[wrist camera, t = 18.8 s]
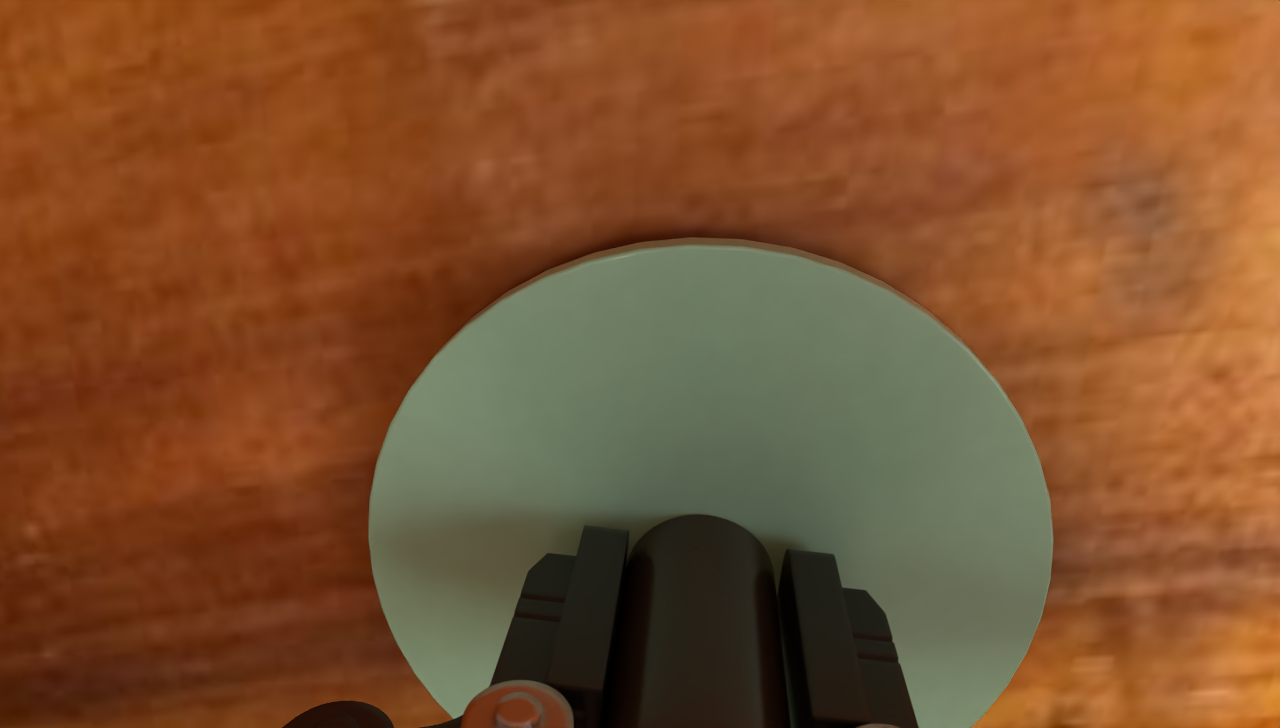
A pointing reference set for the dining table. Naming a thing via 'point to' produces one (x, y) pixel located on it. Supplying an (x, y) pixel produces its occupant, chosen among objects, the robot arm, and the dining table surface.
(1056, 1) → the dining table surface
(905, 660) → the tin lid
